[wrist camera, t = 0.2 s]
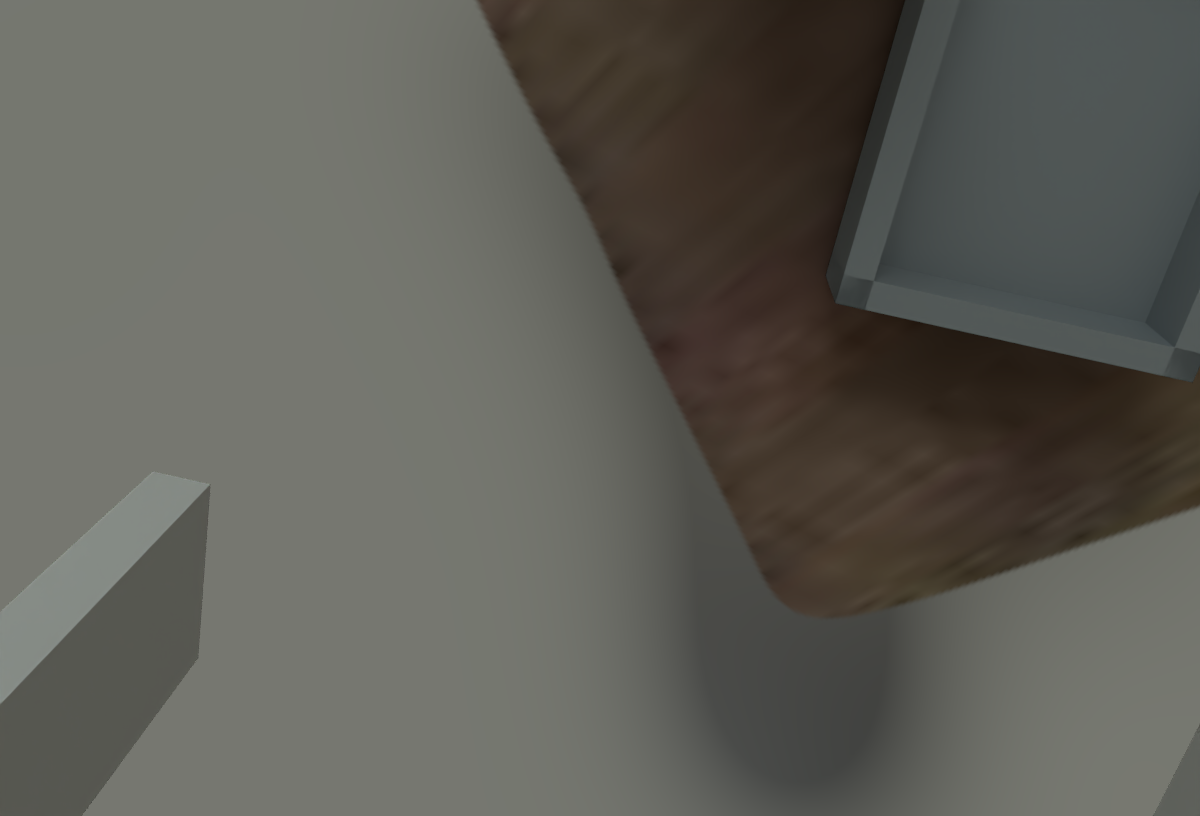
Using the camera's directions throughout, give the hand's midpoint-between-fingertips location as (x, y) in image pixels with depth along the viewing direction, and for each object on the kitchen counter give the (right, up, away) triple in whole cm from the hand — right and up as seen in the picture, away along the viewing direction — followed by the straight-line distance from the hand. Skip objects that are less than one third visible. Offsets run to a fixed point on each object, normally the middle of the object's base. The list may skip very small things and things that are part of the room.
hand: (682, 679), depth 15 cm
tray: (+14, +14, +22) cm, 30 cm away
